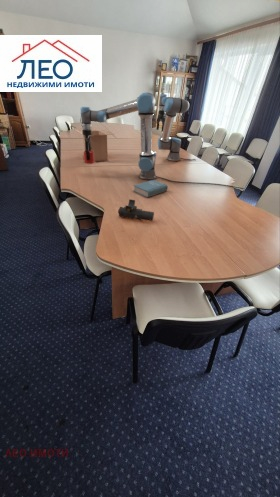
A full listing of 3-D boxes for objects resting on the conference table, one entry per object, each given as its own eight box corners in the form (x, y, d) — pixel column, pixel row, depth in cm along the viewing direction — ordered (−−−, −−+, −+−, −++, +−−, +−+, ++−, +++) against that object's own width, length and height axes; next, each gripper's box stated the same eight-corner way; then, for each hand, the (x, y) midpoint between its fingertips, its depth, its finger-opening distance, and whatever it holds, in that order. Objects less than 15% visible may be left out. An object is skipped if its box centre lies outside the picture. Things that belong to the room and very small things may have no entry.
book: (152, 185, 190) (153, 179, 187) (167, 191, 181) (167, 185, 178) (133, 191, 176) (133, 185, 173) (147, 198, 167) (148, 191, 164)
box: (118, 161, 240) (118, 134, 224) (86, 164, 225) (83, 135, 209) (104, 152, 270) (103, 127, 254) (74, 153, 255) (72, 127, 239)
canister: (82, 162, 192) (81, 152, 187) (87, 160, 199) (86, 150, 194) (91, 164, 190) (90, 153, 185) (96, 161, 197) (95, 151, 192)
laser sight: (151, 224, 136) (153, 209, 130) (116, 219, 138) (116, 204, 132) (153, 217, 143) (155, 203, 137) (120, 212, 146) (120, 198, 140)
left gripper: (84, 127, 187) (86, 155, 201) (79, 131, 170) (82, 161, 184) (93, 127, 188) (95, 155, 201) (89, 131, 171) (91, 162, 184)
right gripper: (154, 109, 265) (152, 128, 278) (164, 111, 247) (161, 132, 260) (160, 109, 268) (158, 128, 280) (170, 111, 250) (167, 132, 262)
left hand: (89, 158), depth 193 cm, fingers closed on canister, 8 cm apart
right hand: (160, 130), depth 270 cm, fingers open, 13 cm apart
